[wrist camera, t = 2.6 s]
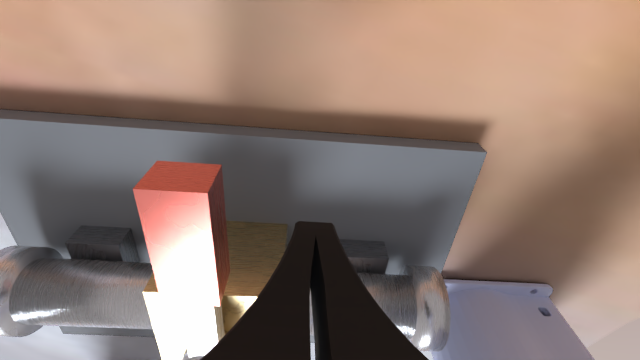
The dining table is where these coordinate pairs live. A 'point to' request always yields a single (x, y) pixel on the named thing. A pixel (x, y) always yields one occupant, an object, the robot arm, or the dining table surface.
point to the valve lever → (188, 245)
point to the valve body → (148, 313)
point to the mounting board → (234, 182)
